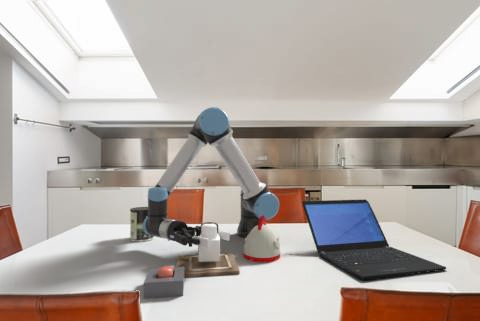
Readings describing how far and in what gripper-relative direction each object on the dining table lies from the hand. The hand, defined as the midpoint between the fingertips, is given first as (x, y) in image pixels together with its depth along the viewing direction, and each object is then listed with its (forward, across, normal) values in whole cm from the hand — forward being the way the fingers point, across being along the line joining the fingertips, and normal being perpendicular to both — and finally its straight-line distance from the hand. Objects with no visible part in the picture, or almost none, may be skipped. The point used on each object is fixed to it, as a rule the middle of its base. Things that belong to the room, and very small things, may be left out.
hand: (219, 239), depth 94 cm
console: (-2, +20, -10) cm, 23 cm away
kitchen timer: (+5, -19, -10) cm, 22 cm away
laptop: (+37, -41, -10) cm, 56 cm away
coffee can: (-52, -7, -10) cm, 54 cm away
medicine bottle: (-4, 0, -7) cm, 8 cm away
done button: (-2, +20, -7) cm, 22 cm away
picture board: (-5, +1, -10) cm, 11 cm away
